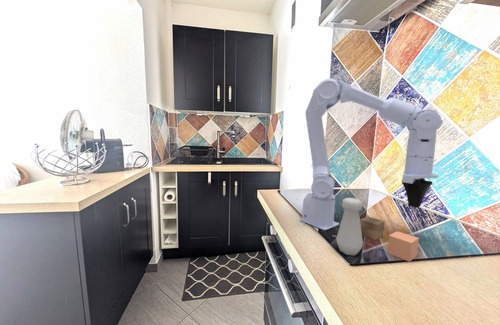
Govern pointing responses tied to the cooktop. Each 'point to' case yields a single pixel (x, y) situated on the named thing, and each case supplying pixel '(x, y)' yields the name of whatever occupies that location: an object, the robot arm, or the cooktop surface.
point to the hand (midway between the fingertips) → (414, 206)
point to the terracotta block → (403, 246)
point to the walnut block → (372, 227)
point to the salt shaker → (350, 228)
